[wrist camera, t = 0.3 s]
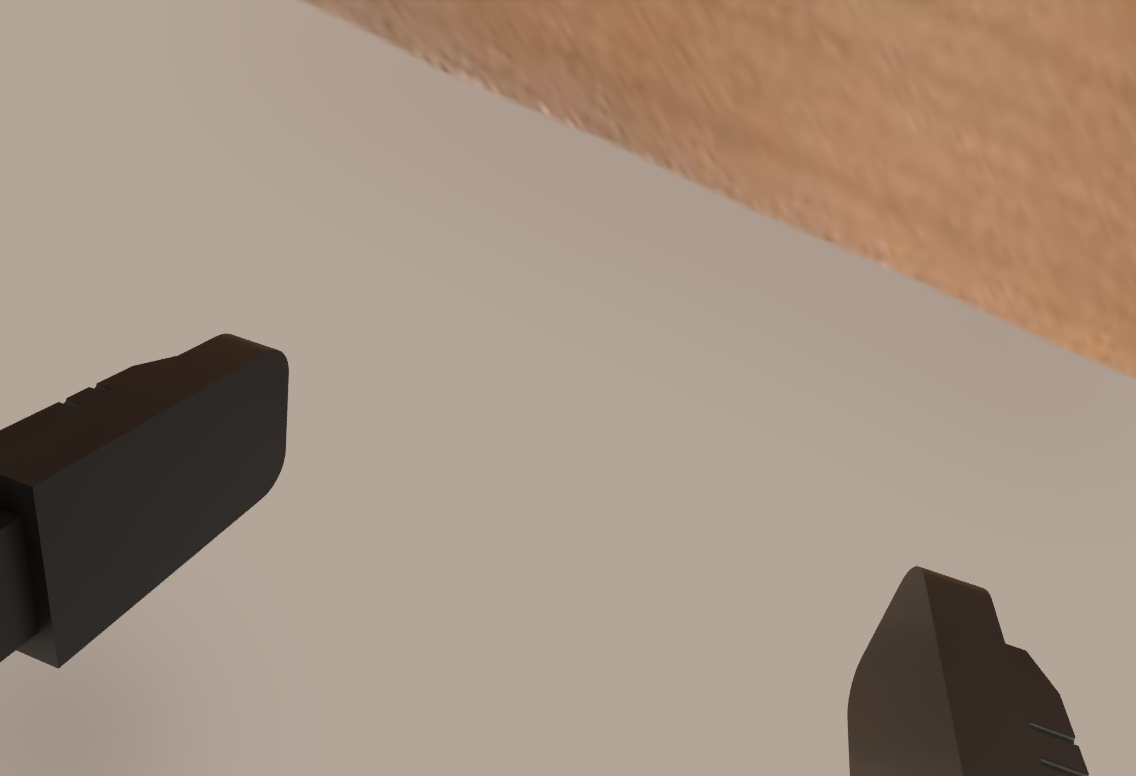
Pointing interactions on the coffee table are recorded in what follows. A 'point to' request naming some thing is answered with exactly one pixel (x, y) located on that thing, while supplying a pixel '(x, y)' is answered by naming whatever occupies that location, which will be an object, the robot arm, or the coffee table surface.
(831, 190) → the coffee table surface
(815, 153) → the coffee table surface
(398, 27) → the coffee table surface
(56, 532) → the robot arm
